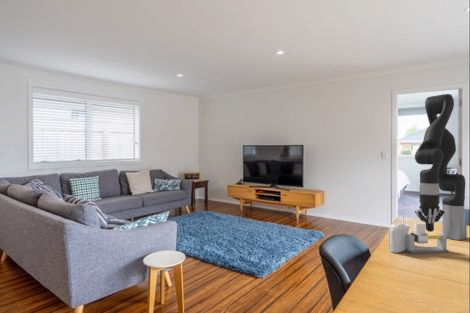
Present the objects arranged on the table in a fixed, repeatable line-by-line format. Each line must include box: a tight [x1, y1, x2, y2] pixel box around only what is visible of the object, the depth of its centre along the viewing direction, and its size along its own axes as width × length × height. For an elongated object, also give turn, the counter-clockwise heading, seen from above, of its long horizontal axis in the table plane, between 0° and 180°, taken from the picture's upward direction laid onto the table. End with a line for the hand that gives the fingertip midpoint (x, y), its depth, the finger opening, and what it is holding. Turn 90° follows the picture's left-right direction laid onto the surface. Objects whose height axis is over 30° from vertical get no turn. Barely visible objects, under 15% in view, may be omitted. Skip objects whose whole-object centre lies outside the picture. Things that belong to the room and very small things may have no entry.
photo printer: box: [388, 222, 407, 254], centre depth 131 cm, size 10×4×12 cm, turn 124°
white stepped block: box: [411, 222, 429, 245], centre depth 129 cm, size 4×4×8 cm
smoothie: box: [401, 215, 411, 234], centre depth 139 cm, size 6×6×14 cm
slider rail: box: [404, 232, 449, 255], centre depth 129 cm, size 17×5×8 cm, turn 93°
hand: (429, 231), depth 129 cm, fingers closed
